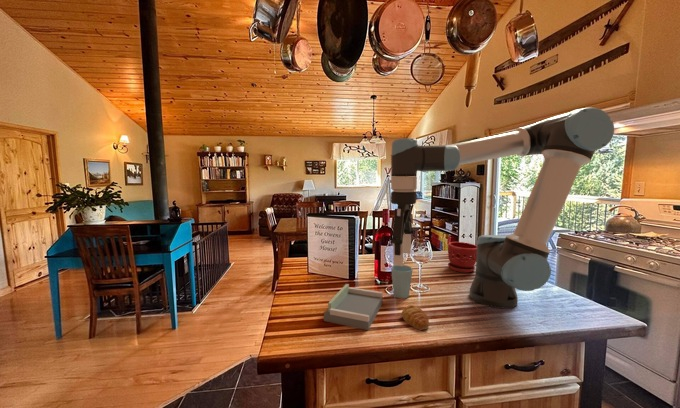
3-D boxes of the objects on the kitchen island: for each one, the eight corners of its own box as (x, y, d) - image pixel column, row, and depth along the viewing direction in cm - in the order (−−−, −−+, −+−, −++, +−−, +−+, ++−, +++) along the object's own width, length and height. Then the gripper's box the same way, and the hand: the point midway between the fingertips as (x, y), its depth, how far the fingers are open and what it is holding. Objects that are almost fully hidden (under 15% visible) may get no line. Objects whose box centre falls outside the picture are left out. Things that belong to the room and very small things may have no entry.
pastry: (435, 329, 81) (436, 316, 81) (415, 333, 79) (415, 320, 79) (417, 314, 90) (418, 302, 90) (399, 317, 88) (399, 305, 88)
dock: (382, 303, 97) (382, 288, 96) (368, 330, 80) (368, 311, 80) (344, 297, 102) (344, 282, 101) (323, 321, 85) (323, 303, 85)
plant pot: (465, 276, 123) (466, 249, 121) (441, 267, 134) (442, 243, 133) (483, 271, 129) (485, 245, 128) (459, 263, 140) (460, 240, 139)
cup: (416, 297, 101) (417, 269, 100) (399, 301, 98) (399, 272, 97) (403, 289, 108) (404, 263, 107) (386, 293, 105) (387, 266, 104)
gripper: (399, 188, 98) (398, 247, 100) (380, 193, 75) (380, 269, 77) (421, 188, 95) (420, 250, 97) (409, 193, 72) (407, 273, 74)
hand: (402, 258), depth 87 cm, fingers open, 13 cm apart
